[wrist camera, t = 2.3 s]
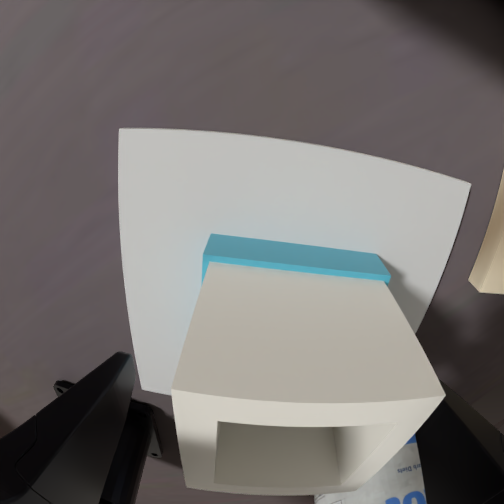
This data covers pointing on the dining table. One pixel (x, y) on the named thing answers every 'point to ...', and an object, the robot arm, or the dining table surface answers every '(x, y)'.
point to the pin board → (491, 252)
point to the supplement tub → (388, 482)
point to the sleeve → (296, 371)
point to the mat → (266, 221)
